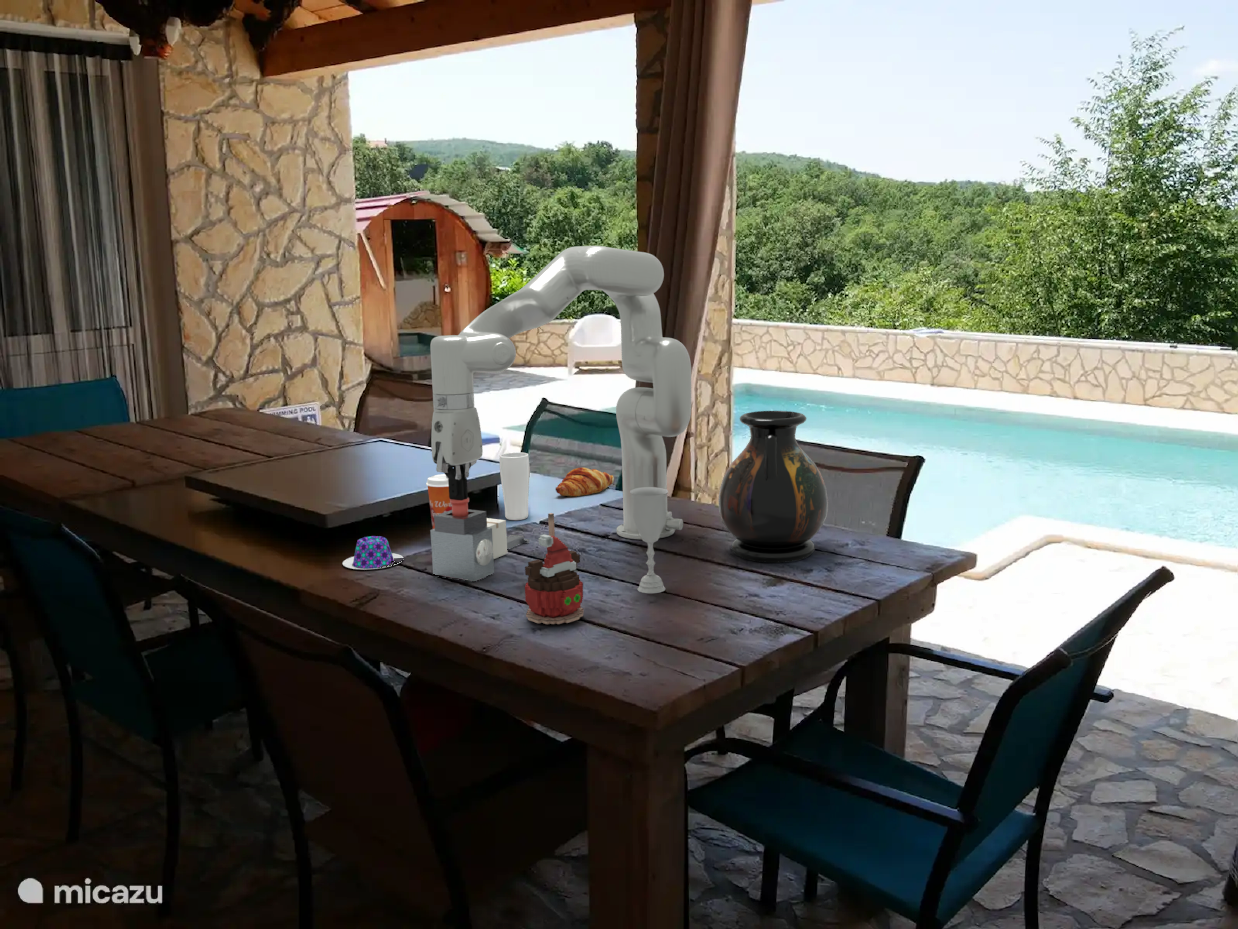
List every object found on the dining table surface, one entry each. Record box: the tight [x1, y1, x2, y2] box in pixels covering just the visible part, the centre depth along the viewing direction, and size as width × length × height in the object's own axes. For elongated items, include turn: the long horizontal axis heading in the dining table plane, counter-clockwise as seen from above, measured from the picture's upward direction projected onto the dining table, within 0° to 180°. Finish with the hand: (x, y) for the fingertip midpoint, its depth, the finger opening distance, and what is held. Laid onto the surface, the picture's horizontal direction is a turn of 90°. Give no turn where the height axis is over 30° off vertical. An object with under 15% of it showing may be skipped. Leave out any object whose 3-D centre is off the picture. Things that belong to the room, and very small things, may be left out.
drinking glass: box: [499, 451, 530, 521], centre depth 249 cm, size 7×7×15 cm
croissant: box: [555, 467, 615, 497], centre depth 277 cm, size 21×10×8 cm, turn 141°
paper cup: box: [425, 473, 452, 529], centre depth 231 cm, size 8×8×14 cm
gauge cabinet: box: [429, 508, 495, 582], centre depth 205 cm, size 10×7×12 cm
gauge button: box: [450, 497, 470, 517], centre depth 204 cm, size 4×4×5 cm
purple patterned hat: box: [342, 535, 404, 571], centre depth 216 cm, size 12×12×5 cm
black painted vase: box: [718, 410, 829, 564], centre depth 212 cm, size 22×22×28 cm
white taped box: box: [487, 517, 508, 560], centre depth 218 cm, size 6×6×7 cm
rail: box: [507, 534, 531, 549], centre depth 222 cm, size 5×16×2 cm, turn 150°
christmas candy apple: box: [524, 512, 584, 625], centre depth 178 cm, size 11×9×18 cm
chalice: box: [630, 487, 669, 594], centre depth 192 cm, size 7×7×18 cm
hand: (458, 498), depth 203 cm, fingers closed
